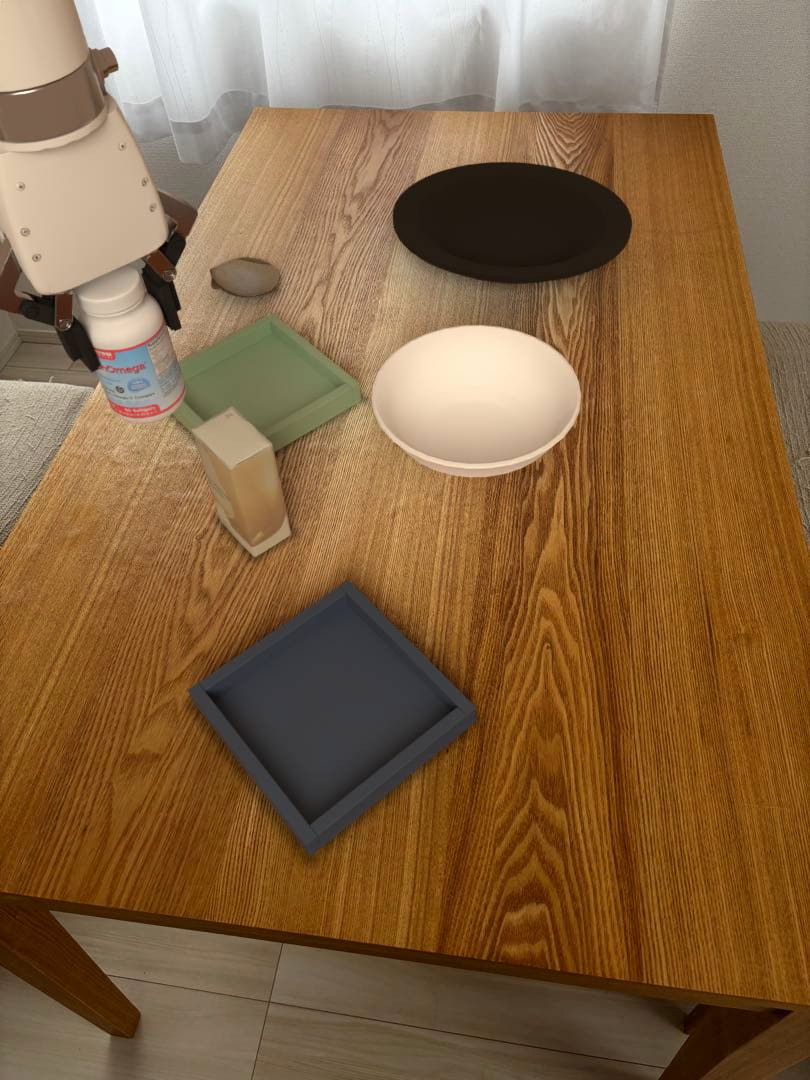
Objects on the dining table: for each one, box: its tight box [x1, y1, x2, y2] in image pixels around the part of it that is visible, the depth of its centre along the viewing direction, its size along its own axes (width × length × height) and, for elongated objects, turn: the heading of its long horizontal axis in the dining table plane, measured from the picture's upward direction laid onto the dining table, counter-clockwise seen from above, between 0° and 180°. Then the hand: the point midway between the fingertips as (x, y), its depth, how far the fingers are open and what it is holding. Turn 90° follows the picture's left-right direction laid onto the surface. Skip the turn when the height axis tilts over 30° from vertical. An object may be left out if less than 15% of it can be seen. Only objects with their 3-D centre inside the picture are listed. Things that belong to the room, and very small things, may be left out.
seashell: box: [209, 256, 281, 298], centre depth 103 cm, size 8×3×8 cm
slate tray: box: [187, 579, 477, 857], centre depth 68 cm, size 16×16×2 cm
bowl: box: [370, 324, 582, 478], centre depth 84 cm, size 20×20×6 cm
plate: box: [392, 161, 633, 285], centre depth 104 cm, size 28×24×6 cm
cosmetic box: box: [191, 407, 292, 558], centre depth 76 cm, size 6×4×12 cm
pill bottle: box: [73, 263, 186, 424], centre depth 65 cm, size 6×6×11 cm
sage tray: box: [171, 312, 363, 453], centre depth 91 cm, size 16×16×2 cm
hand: (128, 339), depth 65 cm, fingers closed on pill bottle, 6 cm apart
